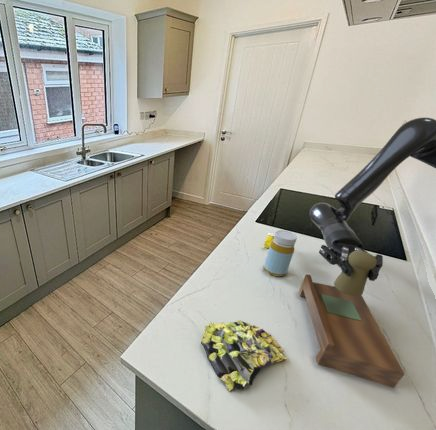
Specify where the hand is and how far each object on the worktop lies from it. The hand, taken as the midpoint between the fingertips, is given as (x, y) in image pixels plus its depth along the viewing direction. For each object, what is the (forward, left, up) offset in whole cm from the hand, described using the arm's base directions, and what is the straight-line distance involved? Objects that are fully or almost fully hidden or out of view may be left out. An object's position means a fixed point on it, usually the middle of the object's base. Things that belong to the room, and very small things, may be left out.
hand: (361, 275), depth 64 cm
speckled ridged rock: (+23, +19, -18) cm, 35 cm away
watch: (+14, -36, -18) cm, 42 cm away
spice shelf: (0, +2, -17) cm, 18 cm away
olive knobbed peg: (0, -3, -7) cm, 7 cm away
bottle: (+13, -20, -18) cm, 30 cm away
